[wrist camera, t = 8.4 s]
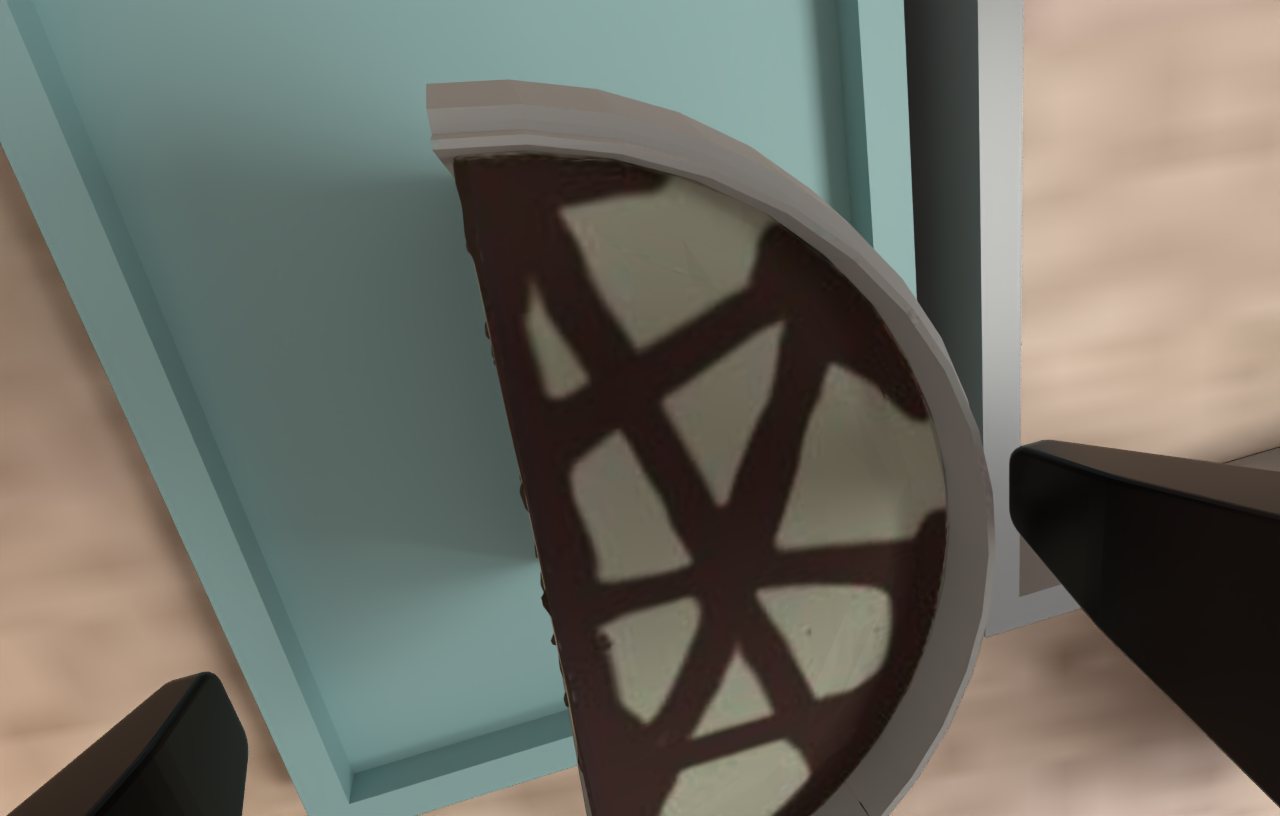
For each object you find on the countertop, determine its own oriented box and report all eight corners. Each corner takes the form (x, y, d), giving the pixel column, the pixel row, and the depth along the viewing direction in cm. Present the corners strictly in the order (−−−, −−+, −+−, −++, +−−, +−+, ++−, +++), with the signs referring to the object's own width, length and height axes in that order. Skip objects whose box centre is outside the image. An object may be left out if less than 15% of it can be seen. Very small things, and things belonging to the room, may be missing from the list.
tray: (896, 614, 24) (932, 654, 22) (332, 784, 22) (321, 844, 20) (839, -271, 16) (889, -322, 14) (-73, -153, 14) (-155, -197, 12)
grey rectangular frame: (1388, 441, 26) (1498, 479, 24) (924, 578, 24) (985, 638, 21) (1561, -417, 18) (1758, -514, 15) (881, -338, 16) (972, -435, 13)
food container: (777, 557, 21) (1019, 892, 12) (551, 610, 20) (623, 1018, 11) (737, 60, 17) (1072, -17, 7) (443, 101, 16) (414, 73, 7)
